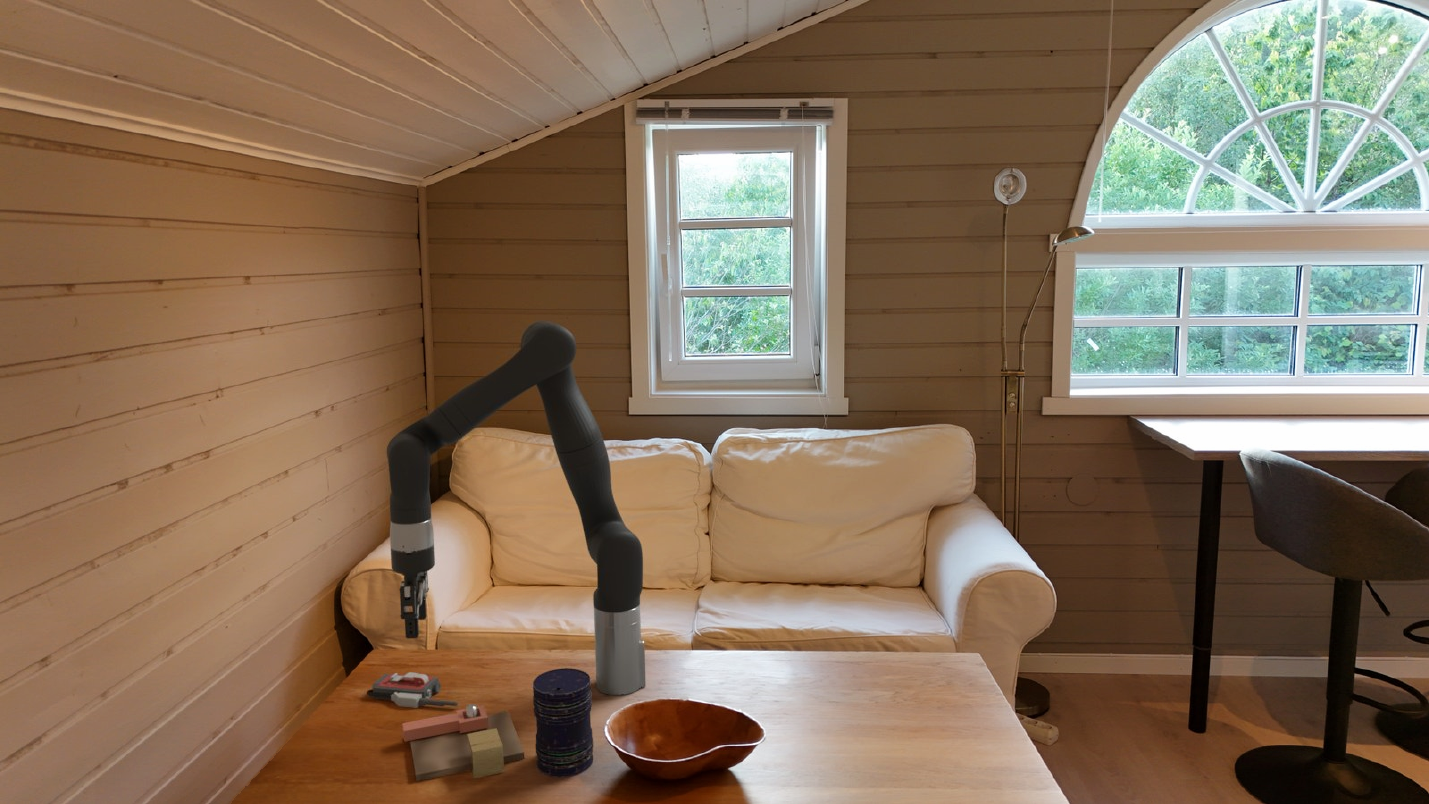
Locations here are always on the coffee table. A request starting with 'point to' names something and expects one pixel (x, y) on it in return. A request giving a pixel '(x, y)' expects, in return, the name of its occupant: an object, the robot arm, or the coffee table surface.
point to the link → (445, 724)
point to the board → (461, 749)
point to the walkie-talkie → (408, 690)
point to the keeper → (486, 753)
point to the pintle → (471, 711)
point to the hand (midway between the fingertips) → (416, 628)
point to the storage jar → (563, 722)
